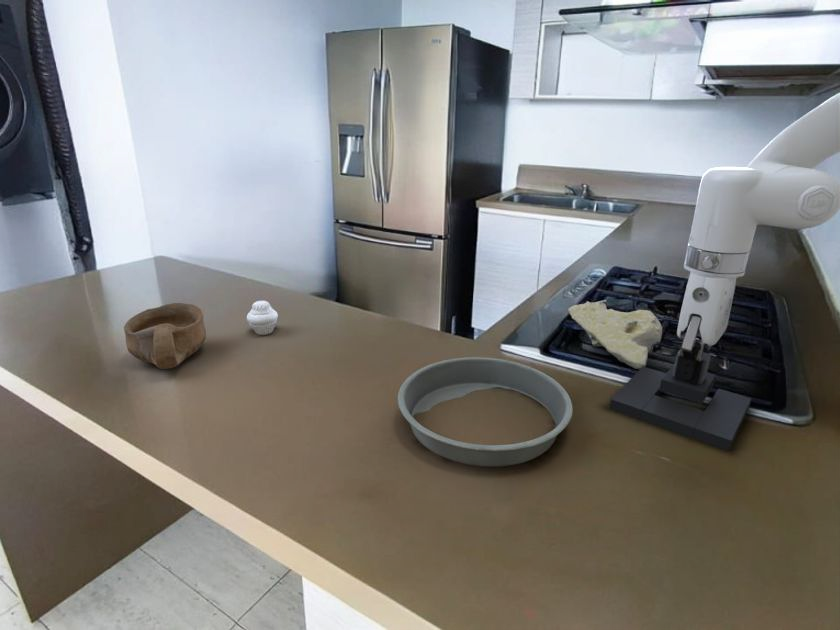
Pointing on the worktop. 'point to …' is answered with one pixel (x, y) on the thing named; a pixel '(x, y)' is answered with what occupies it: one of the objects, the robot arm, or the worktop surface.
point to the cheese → (619, 331)
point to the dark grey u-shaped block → (682, 410)
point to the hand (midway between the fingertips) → (689, 375)
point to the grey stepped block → (685, 389)
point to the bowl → (165, 334)
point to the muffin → (262, 318)
